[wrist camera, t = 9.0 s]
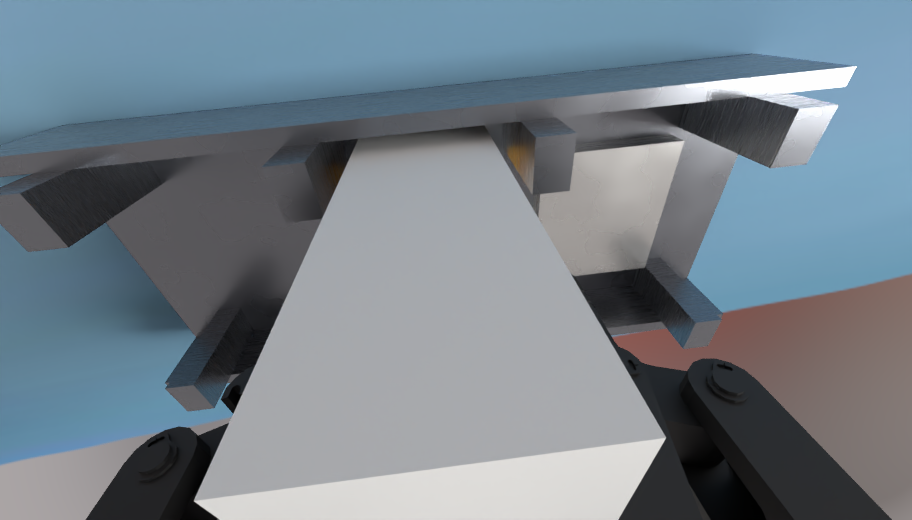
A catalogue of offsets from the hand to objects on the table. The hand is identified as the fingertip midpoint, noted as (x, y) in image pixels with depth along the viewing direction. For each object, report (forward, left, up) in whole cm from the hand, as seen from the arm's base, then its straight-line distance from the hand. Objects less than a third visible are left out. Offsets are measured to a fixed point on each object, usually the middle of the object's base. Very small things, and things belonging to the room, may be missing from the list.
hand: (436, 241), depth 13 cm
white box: (0, 0, 0) cm, 0 cm away
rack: (0, 0, -2) cm, 2 cm away
